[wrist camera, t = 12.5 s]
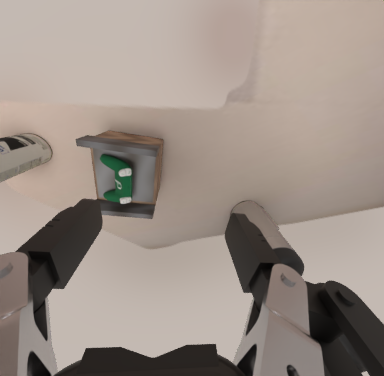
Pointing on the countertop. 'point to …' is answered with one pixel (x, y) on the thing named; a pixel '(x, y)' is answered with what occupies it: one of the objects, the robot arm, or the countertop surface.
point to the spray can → (22, 154)
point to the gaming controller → (119, 179)
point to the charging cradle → (141, 171)
